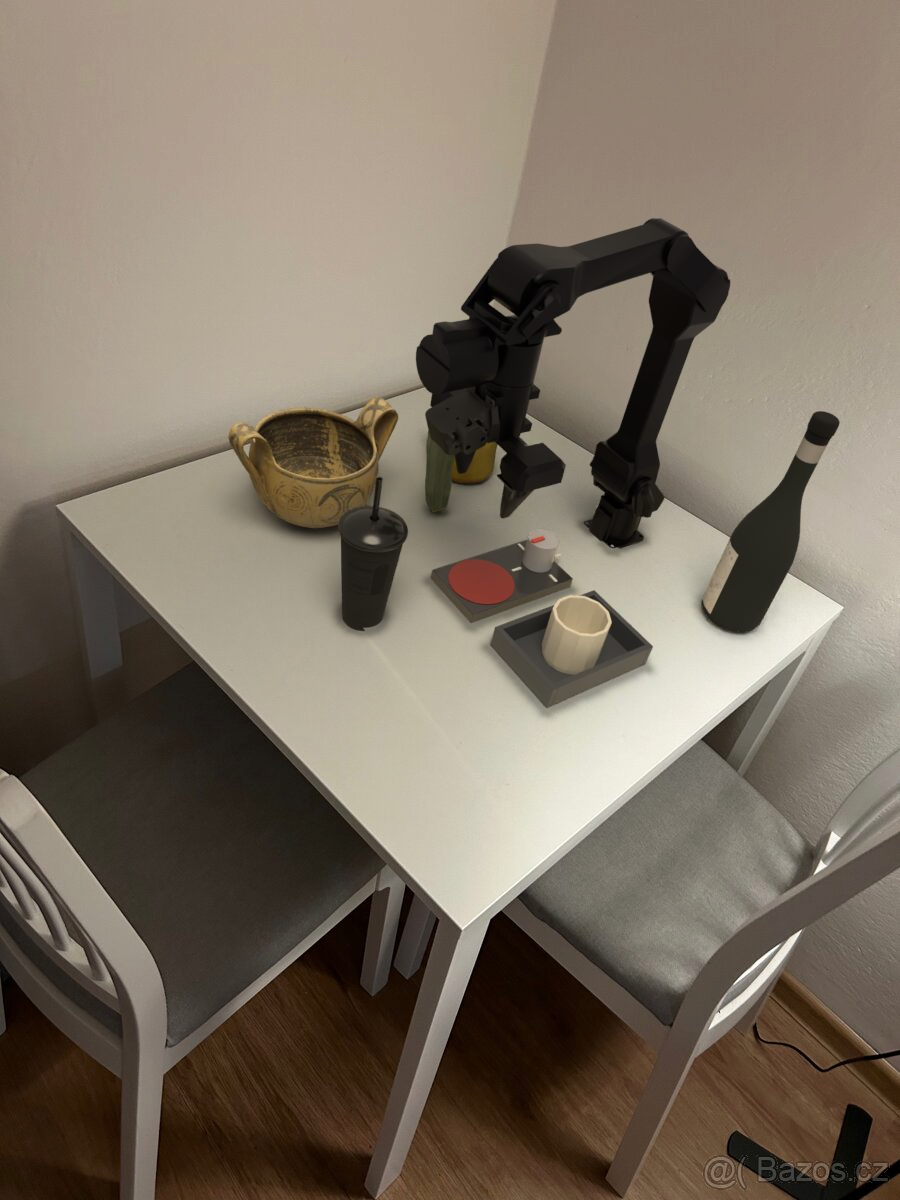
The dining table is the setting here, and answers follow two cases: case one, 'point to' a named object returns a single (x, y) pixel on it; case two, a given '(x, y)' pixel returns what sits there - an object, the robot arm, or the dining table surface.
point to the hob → (525, 580)
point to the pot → (575, 634)
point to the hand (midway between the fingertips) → (482, 494)
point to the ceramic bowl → (315, 460)
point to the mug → (477, 465)
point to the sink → (551, 686)
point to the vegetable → (437, 476)
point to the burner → (481, 581)
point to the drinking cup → (369, 560)
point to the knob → (540, 550)
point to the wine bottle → (765, 541)
